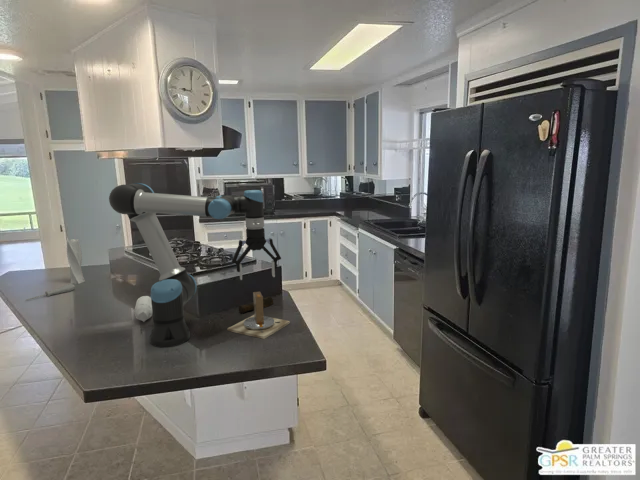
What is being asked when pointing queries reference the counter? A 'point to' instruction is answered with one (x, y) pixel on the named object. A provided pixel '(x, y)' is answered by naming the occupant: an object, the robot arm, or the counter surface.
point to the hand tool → (247, 307)
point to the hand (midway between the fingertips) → (257, 277)
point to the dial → (258, 315)
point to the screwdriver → (58, 290)
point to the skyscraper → (75, 261)
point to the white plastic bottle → (143, 308)
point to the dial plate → (258, 333)
